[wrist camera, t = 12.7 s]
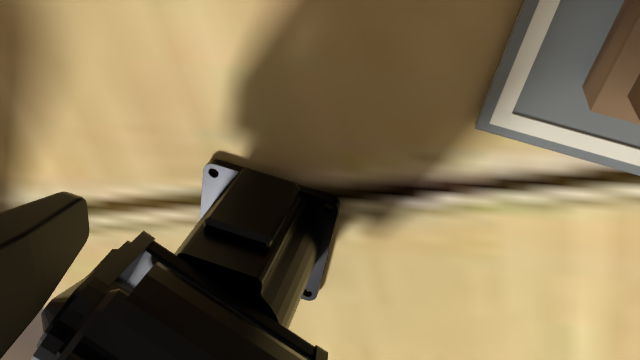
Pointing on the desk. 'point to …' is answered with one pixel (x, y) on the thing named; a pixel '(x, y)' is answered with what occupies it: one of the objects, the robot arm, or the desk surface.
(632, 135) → the marked board
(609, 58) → the stamp
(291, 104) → the desk surface
